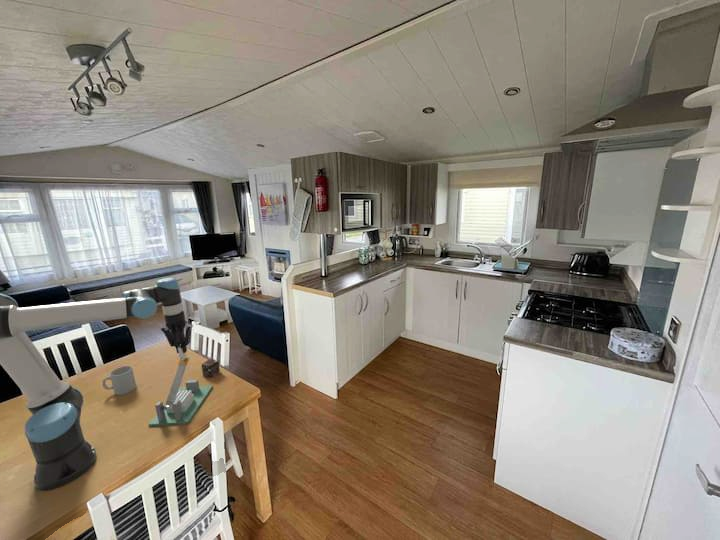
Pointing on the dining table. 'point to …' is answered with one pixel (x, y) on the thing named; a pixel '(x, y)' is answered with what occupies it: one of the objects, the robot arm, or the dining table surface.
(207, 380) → the dining table surface
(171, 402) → the strap
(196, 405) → the heatsink board
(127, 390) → the mug
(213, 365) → the box
